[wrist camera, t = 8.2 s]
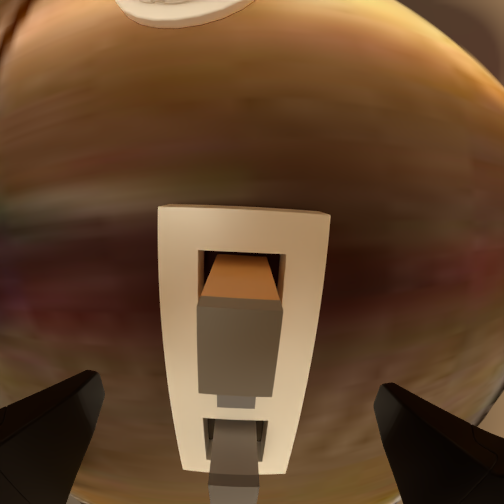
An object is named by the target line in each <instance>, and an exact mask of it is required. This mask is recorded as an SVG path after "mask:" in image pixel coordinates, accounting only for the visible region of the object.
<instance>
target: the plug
mask: <svg viewBox="0 0 504 504" xmlns="http://www.w3.org/2000/svg"><path fill="white" fill-rule="evenodd" d="M282 319H283V308H282V305H281V301H280V298H279V295H278V292H277V289H276V285H275V282H274V279H273V276H272V272H271V269H270V266H269V263H268V260H267V257H260V256H244V255H228V254H217V256H216V259H215V261H214V264H213V266H212V269H211V271H210V274H209V276H208V278H207V281H206V283H205V286H204V289H203V291H202V294H201V296H200V299H199V301H198V304H197V365H198V392H199V393H201V394H212V395H226V396H244V397H272V393H273V387H274V380H275V373H276V365H277V358H278V351H279V343H280V335H281V327H282Z"/></svg>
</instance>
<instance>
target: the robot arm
mask: <svg viewBox="0 0 504 504" xmlns="http://www.w3.org/2000/svg"><path fill="white" fill-rule="evenodd" d="M104 396H105V392H104V388H103V384H102V381H101V377H100V374H99V373H98V372H96V371H91V370H85V371H83V372H81V373H79V374H77V375H75V376H73V377H71V378H68V379H66V380H64V381H62V382H60V383H58V384H55V385H53V386H51V387H49V388H47V389H44V390H42V391H40V392H38V393H35V394H33V395H31V396H29V397H26V398H24V399H22V400H20V401H17V402H15V403H13V404H10V405H8V406H7V407H3V408H1V409H0V504H66V502H67V499H68V496H69V494H70V491H71V488H72V486H73V483H74V480H75V478H76V475H77V472H78V470H79V467H80V465H81V462H82V460H83V457H84V455H85V452H86V450H87V448H88V445H89V443H90V440H91V438H92V435H93V433H94V430H95V427H96V423H97V420H98V416H99V413H100V410H101V407H102V403H103V400H104ZM374 411H375V415H376V419H377V423H378V427H379V431H380V436H381V440H382V443H383V447H384V450H385V452H386V455H387V458H388V461H389V463H390V466H391V469H392V472H393V475H394V478H395V481H396V483H397V486H398V489H399V492H400V495H401V498H402V501H403V504H504V438H502V437H499V436H496V435H494V434H491V433H489V432H487V431H484V430H482V429H480V428H478V427H476V426H474V425H471V424H470V423H468V422H466V421H464V420H462V419H460V418H458V417H456V416H454V415H452V414H451V413H449V412H447V411H445V410H443V409H441V408H439V407H437V406H435V405H433V404H431V403H430V402H428V401H426V400H424V399H422V398H420V397H418V396H417V395H415V394H413V393H411V392H409V391H407V390H406V389H404V388H402V387H400V386H398V385H397V384H395V383H385V384H382V385H381V386H380V388H379V391H378V393H377V396H376V399H375V401H374Z"/></svg>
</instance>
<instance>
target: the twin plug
mask: <svg viewBox="0 0 504 504" xmlns="http://www.w3.org/2000/svg"><path fill="white" fill-rule="evenodd" d="M208 488H209V496H210V503H211V504H256V503H257V498H258V492H259V470H258V451H257V432H256V420H228V419H215V425H214V434H213V443H212V452H211V462H210V471H209V481H208Z"/></svg>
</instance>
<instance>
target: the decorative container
mask: <svg viewBox="0 0 504 504" xmlns="http://www.w3.org/2000/svg"><path fill="white" fill-rule="evenodd" d="M253 1H255V0H115V2H116V3H117V4H118V6H119V7H120V8H121V10H122V11H123V12H124V13H125V14H126V16H127V17H128V18H129V19H131V20H133V21H135V22H137V23H139V24H141V25H145V26H150V27H155V28H184V27H191V26H197V25H203V24H206V23H209V22H213V21H216V20H219V19H223V18H225V17H227V16H229V15H231V14H234V13H236V12H238V11H240V10H242V9H244V8H245V7H246V6H248V5H249V4H250V3H252V2H253Z"/></svg>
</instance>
